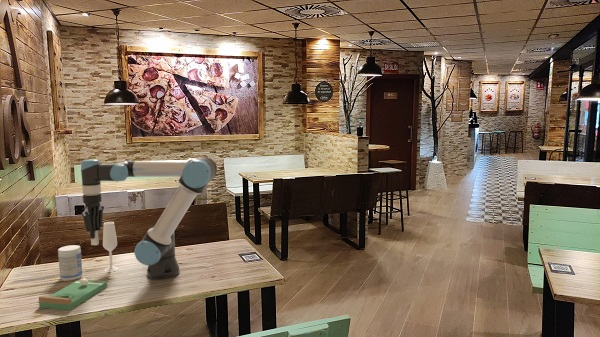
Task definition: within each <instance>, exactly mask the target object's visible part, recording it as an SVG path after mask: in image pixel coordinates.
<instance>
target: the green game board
mask: <svg viewBox="0 0 600 337" xmlns="http://www.w3.org/2000/svg"><path fill="white" fill-rule="evenodd" d="M81 280H82V279H80V278H78V279H76V281H73V282H72V283H70V284H69V285H67V286H64V287H63V288H62V289H60V290H58V291H55V292H54V293H52V294H50V295H48V296H46V295H39V296H38V307H39V308H40V309H41V308H42V309H51V310H52V309H53V310H63V311H71V310H73V309H74V308H76V307H78V306H79V305H81V304H82V303H84V302H85V301H87V300H89V299H91V298H92V297H93V296H95V295H96V294H99V293H100V292H101V291H103V290H104V289H106V288H107V287H108V281H103V280H91V279H90V280H89V279H87V280H88V284H87V285H85V286H82V285H80V281H81Z"/></svg>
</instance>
